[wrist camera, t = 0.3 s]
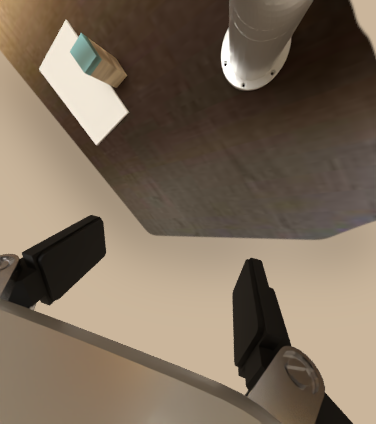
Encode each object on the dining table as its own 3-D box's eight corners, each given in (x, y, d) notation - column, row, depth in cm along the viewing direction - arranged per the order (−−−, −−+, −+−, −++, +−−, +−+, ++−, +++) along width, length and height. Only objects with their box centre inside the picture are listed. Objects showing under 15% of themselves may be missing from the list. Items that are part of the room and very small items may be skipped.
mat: (41, 70, 42) (38, 69, 41) (68, 21, 36) (65, 19, 36) (97, 145, 47) (96, 145, 46) (129, 112, 41) (127, 112, 41)
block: (105, 72, 39) (69, 51, 30) (116, 58, 37) (81, 32, 28) (116, 88, 40) (84, 73, 31) (127, 75, 38) (96, 55, 29)
